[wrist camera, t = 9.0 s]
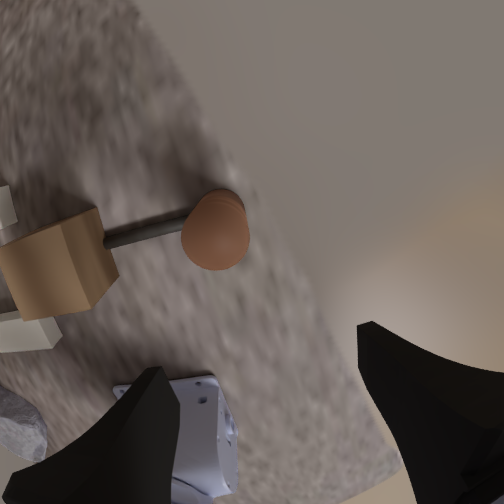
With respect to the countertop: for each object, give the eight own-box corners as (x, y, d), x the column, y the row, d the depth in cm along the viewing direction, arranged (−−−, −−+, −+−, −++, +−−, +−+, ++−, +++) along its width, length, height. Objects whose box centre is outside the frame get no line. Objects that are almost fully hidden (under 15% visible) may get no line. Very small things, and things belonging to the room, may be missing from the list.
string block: (235, 168, 18) (235, 173, 13) (253, 244, 20) (260, 282, 14) (34, 229, 18) (-15, 255, 13) (56, 290, 20) (16, 329, 14)
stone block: (49, 397, 26) (-21, 370, 22) (40, 429, 22) (-34, 398, 18) (56, 444, 30) (-3, 422, 26) (52, 471, 25) (-11, 447, 22)
